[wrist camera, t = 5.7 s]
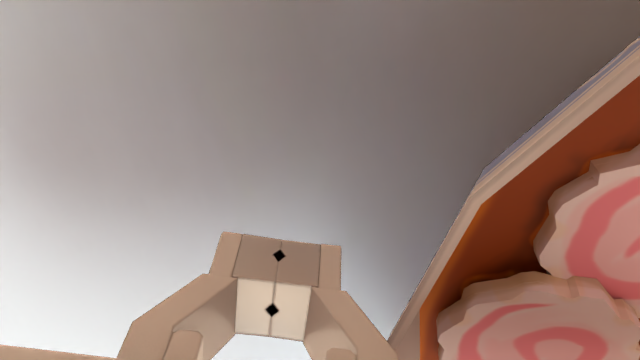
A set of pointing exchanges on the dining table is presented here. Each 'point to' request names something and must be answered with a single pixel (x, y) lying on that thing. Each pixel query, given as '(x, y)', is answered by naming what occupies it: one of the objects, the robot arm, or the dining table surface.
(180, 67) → the dining table surface
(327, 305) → the robot arm
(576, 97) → the ramen bowl
